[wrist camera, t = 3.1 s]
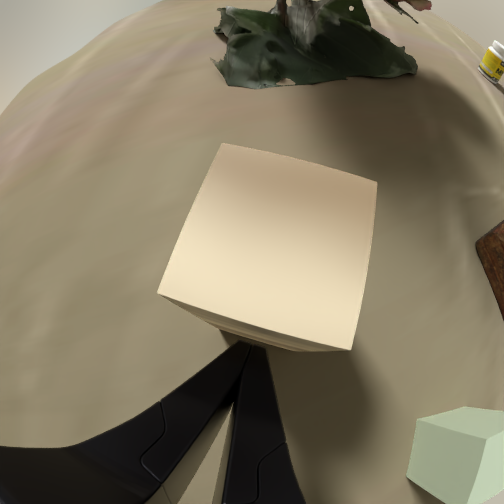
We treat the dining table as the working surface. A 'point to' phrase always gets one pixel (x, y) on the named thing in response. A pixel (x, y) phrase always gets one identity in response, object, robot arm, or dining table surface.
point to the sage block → (459, 455)
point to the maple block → (275, 250)
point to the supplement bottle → (493, 63)
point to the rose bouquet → (309, 44)
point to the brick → (494, 260)
